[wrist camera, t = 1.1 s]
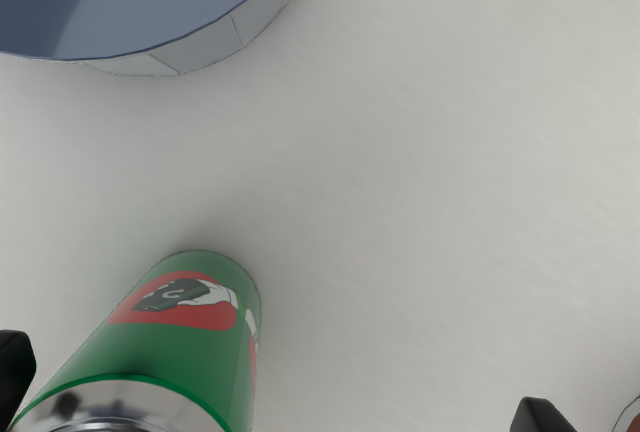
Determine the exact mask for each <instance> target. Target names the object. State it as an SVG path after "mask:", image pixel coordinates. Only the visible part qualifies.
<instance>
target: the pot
mask: <svg viewBox="0 0 640 432" xmlns="http://www.w3.org/2000/svg"><path fill="white" fill-rule="evenodd" d="M288 1H289V0H253V1H252V2H251V3H250V4H248V5H247V6H245V7H244V8H243V9H241V10H240V11H238V12H237V13H235V14H234V15H233V16H231V17H230V18H228V19H227V20H226V21H224V22H223V23H221V24H220V25H218V26H216V27H214V28H212V29H210V30H208V31H206V32H204V33H202V34H200V35H198V36H196V37H194V38H193V39H191V40H189V41H187V42H184V43H181V44H178V45H175V46H172V47H170V48H167V49H164V50H161V51H158V52H155V53H152V54H148V55H143V56H138V57H133V58H128V59H123V60H118V61H111V62H94V63H82V64H85V65H87V66H90V67H93V68H96V69H99V70H102V71H105V72H107V73H110V74H115V75H141V76H162V75H181V74H185V73H187V72H190V71H194V70H197V69H200V68H203V67H206V66H209V65H212V64H215V63H217V62H219V61H220V60H222V59H224V58H226V57H228V56H230V55H232V54H234V53H235V52H237V51H239V50H241V49H242V48H244V47H246V46H247V45H248V43H250V42H251V41H252V40H253V39H254V38H256V37H257V36H258V35H259V34H260V33H261V32H262V31H263V30H264V29H265V28H266V27H267V26H268V25H269V24H270V23H271V21H272V20H273V19H274V18H275V17H276V15H277V14H278V13H279V12H280V11H281V9H282V8H283V6H284V5H285V4H286V3H287V2H288Z"/></svg>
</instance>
